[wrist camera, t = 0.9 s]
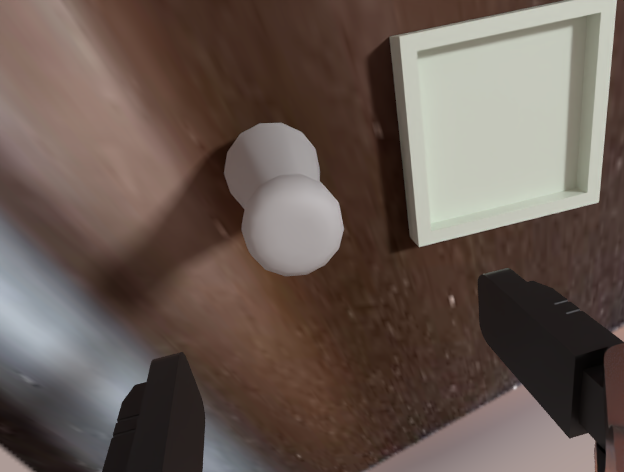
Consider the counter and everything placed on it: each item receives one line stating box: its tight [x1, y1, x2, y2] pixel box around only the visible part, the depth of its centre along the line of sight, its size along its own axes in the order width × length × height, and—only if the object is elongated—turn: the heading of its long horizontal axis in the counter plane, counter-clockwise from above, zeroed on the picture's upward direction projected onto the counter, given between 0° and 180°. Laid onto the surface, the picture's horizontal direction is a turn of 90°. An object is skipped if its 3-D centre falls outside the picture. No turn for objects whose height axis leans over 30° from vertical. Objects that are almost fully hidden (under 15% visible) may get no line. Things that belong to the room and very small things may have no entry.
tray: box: [389, 0, 617, 247], centre depth 31 cm, size 14×14×2 cm
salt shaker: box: [224, 123, 344, 276], centre depth 24 cm, size 6×6×13 cm
